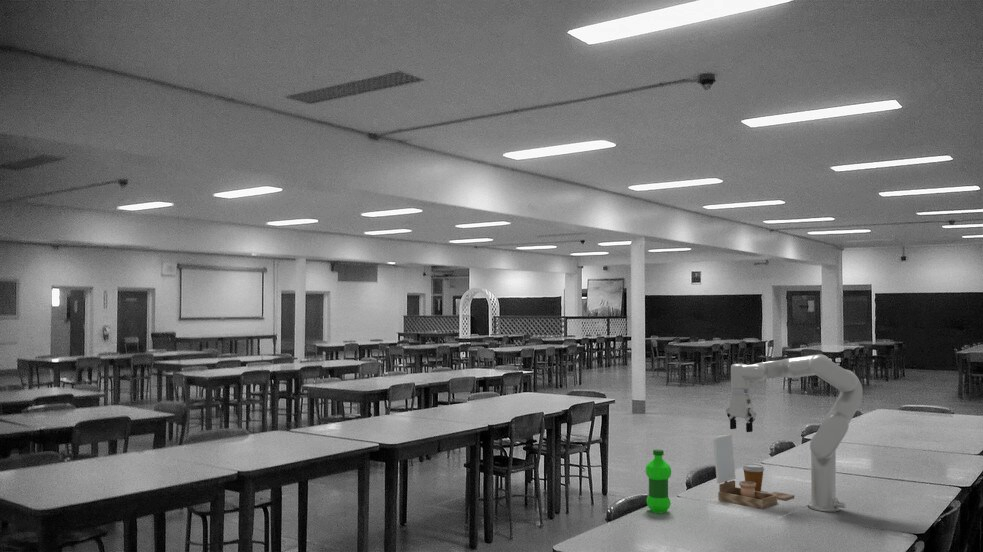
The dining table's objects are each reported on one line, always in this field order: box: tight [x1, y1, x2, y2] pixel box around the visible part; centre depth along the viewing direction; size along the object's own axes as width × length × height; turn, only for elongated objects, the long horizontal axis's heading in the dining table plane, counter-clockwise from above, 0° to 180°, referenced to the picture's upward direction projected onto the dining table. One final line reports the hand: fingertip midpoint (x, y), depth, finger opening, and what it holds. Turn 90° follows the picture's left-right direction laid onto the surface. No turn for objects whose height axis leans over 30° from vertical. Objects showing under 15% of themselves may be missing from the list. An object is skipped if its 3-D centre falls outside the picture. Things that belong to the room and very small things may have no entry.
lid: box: [712, 433, 736, 484], centre depth 331 cm, size 20×15×1 cm
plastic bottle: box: [645, 448, 672, 514], centre depth 308 cm, size 10×10×25 cm
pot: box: [738, 480, 756, 499], centre depth 323 cm, size 7×7×8 cm
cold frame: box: [717, 480, 778, 510], centre depth 324 cm, size 22×14×20 cm, turn 44°
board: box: [769, 491, 795, 502], centre depth 331 cm, size 9×9×2 cm
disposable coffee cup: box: [742, 463, 765, 492], centre depth 343 cm, size 10×10×12 cm
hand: (741, 430), depth 331 cm, fingers open, 9 cm apart
